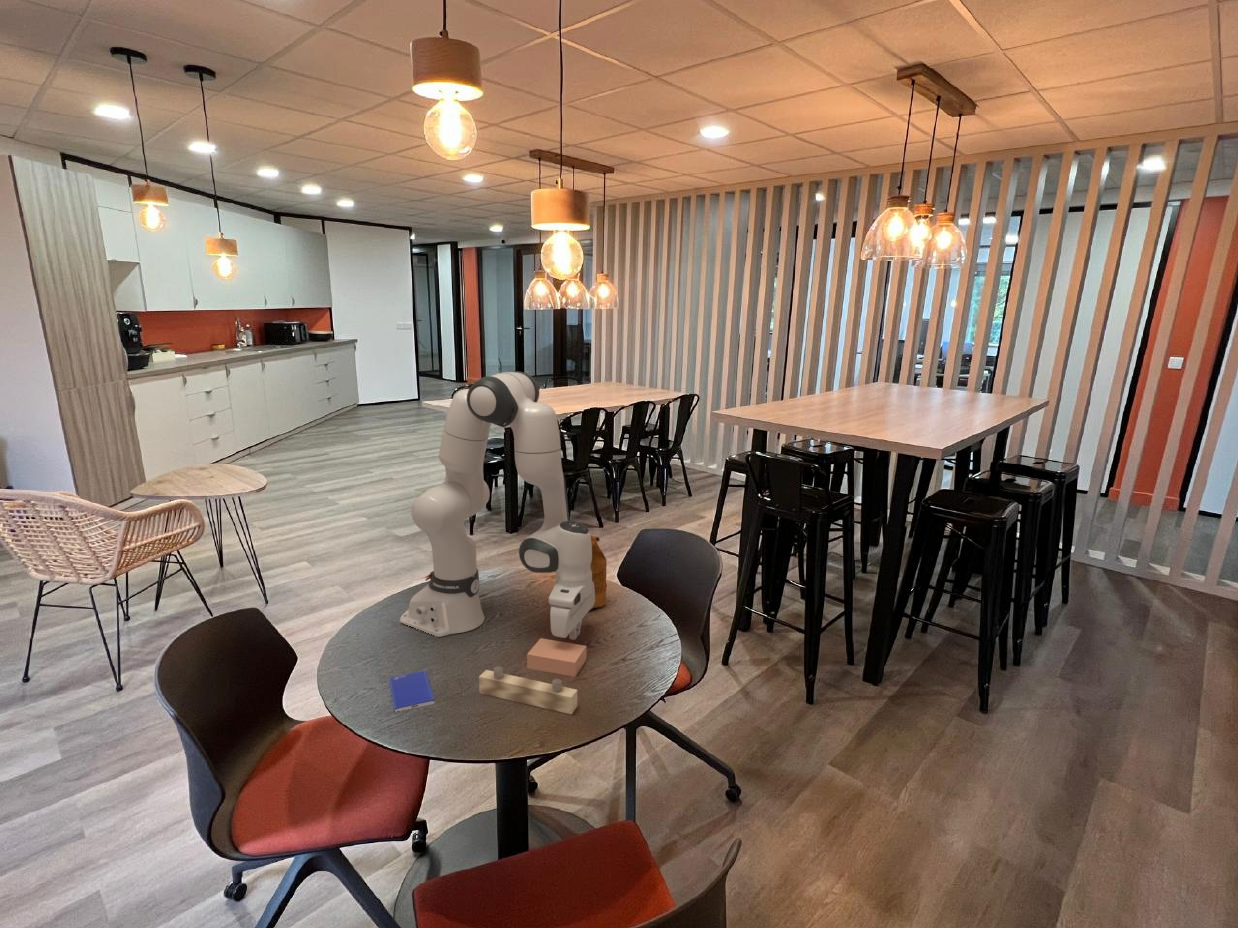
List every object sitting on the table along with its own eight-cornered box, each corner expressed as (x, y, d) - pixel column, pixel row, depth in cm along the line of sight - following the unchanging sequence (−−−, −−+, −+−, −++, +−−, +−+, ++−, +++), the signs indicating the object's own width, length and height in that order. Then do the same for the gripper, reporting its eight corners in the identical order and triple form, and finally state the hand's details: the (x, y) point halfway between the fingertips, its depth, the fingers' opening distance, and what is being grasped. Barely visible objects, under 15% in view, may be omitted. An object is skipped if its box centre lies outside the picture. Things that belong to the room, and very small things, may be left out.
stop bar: (479, 692, 139) (478, 668, 137) (486, 685, 142) (485, 661, 140) (571, 714, 132) (571, 688, 131) (577, 706, 135) (577, 681, 133)
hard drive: (388, 677, 142) (394, 708, 131) (426, 669, 146) (434, 699, 135) (389, 683, 143) (394, 715, 132) (426, 675, 146) (435, 705, 135)
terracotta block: (527, 669, 149) (526, 654, 148) (540, 652, 157) (540, 638, 156) (575, 678, 146) (575, 662, 145) (586, 660, 153) (586, 645, 152)
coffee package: (592, 591, 191) (592, 522, 186) (610, 608, 180) (611, 535, 175) (561, 597, 187) (561, 526, 182) (578, 614, 176) (578, 540, 171)
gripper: (578, 568, 167) (578, 616, 170) (545, 600, 148) (546, 653, 151) (600, 572, 165) (600, 620, 168) (569, 604, 146) (570, 658, 149)
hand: (574, 636), depth 160 cm, fingers closed
